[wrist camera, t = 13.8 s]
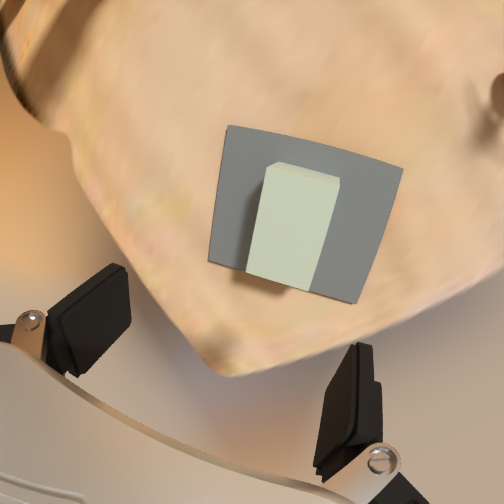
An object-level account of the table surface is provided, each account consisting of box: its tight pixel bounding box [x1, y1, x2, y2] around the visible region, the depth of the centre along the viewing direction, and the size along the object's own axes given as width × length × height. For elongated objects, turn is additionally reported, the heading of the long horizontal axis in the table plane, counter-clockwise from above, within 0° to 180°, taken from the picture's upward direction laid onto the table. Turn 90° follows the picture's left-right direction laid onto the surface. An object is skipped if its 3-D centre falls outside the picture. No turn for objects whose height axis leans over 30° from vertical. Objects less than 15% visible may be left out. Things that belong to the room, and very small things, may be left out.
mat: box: [208, 125, 403, 304], centre depth 27 cm, size 16×14×1 cm
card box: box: [246, 162, 340, 291], centre depth 24 cm, size 9×6×4 cm, turn 169°
